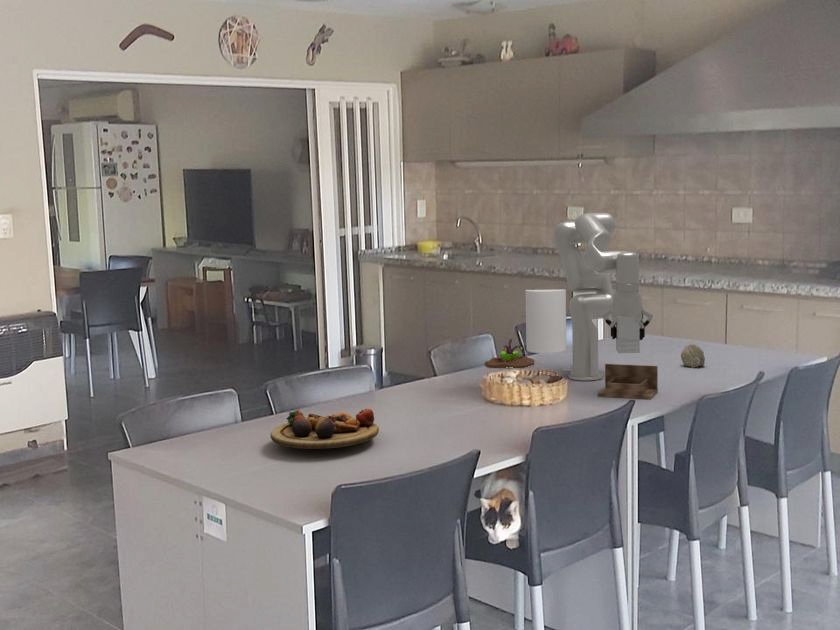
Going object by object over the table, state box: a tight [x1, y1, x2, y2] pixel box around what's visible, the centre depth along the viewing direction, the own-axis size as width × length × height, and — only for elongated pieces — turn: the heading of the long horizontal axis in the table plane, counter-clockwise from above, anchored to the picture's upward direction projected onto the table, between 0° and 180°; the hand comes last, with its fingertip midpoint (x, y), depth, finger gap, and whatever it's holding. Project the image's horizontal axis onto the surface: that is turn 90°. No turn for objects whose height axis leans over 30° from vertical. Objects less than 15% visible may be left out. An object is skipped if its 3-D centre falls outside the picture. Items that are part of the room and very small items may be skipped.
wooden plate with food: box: [270, 408, 379, 450], centre depth 291 cm, size 32×32×8 cm
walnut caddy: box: [597, 363, 659, 400], centre depth 337 cm, size 18×13×9 cm
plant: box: [484, 338, 535, 369], centre depth 399 cm, size 20×20×11 cm
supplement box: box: [615, 316, 641, 354], centre depth 335 cm, size 7×7×13 cm
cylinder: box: [525, 289, 567, 354], centre depth 426 cm, size 17×17×28 cm
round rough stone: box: [680, 343, 706, 369], centre depth 380 cm, size 9×8×10 cm
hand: (627, 339), depth 335 cm, fingers closed on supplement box, 8 cm apart
